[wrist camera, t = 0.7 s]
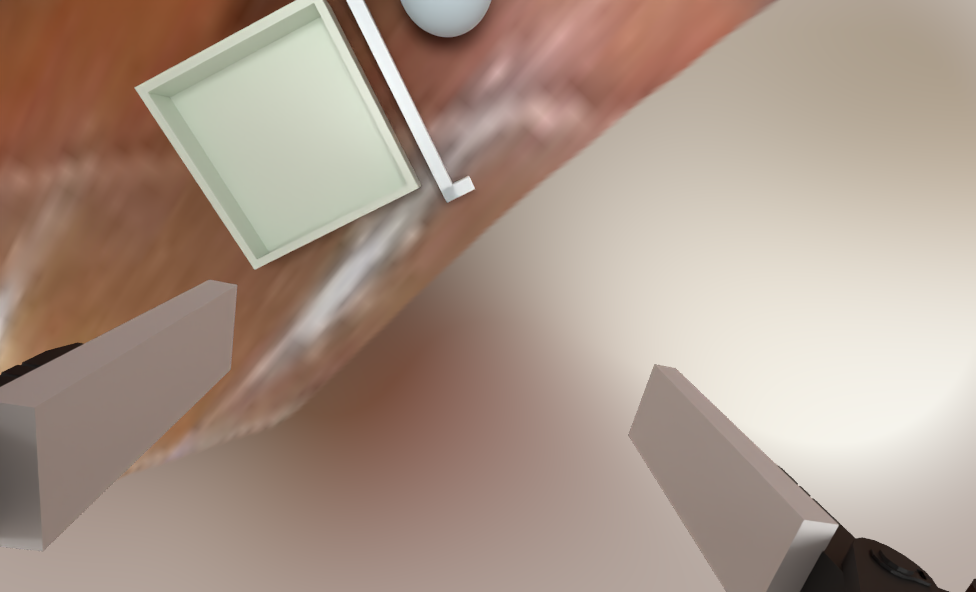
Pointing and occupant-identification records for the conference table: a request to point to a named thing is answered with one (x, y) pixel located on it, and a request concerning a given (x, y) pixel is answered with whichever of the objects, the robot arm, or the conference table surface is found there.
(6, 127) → the conference table surface
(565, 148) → the conference table surface
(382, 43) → the white bar handle
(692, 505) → the robot arm
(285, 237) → the tray
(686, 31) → the conference table surface
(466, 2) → the ball
